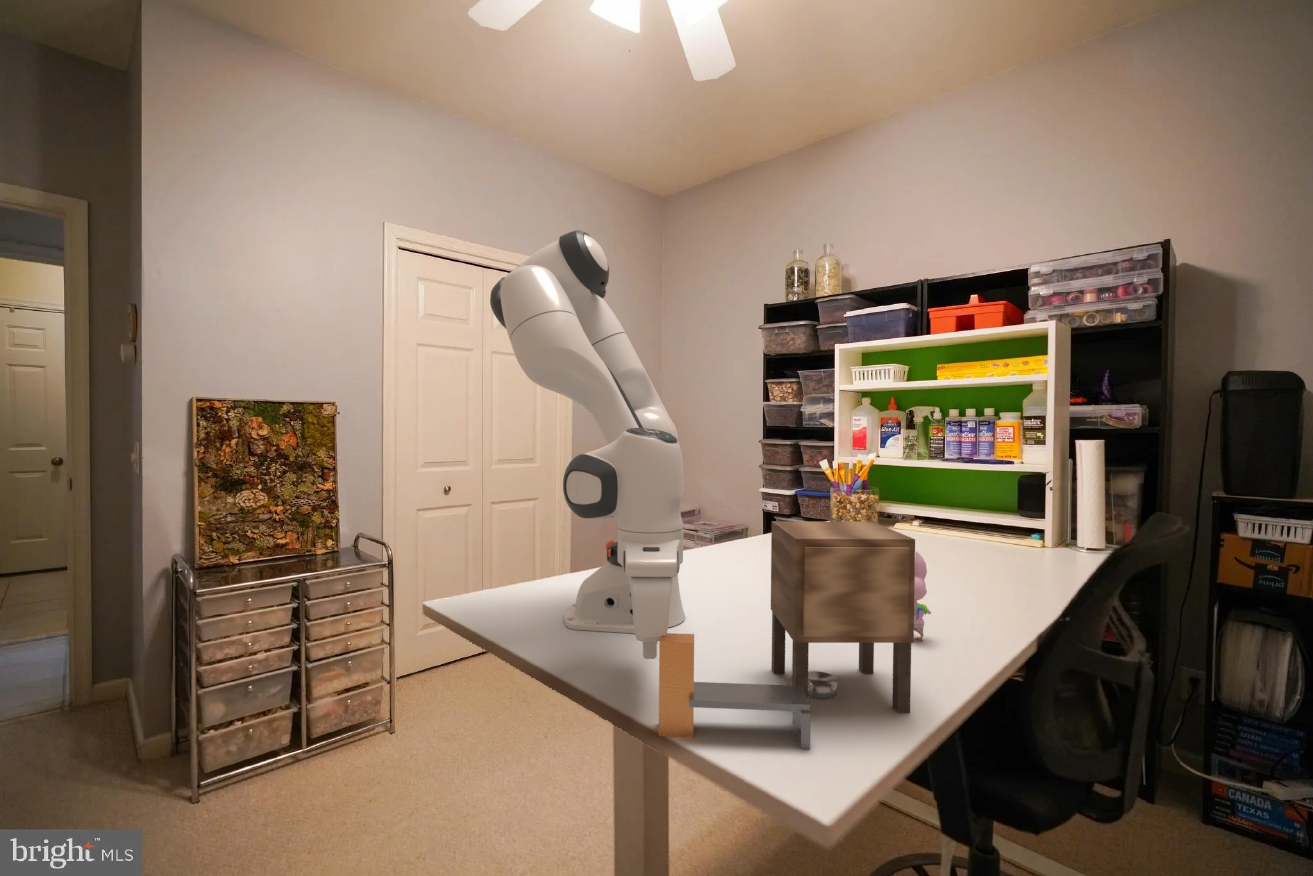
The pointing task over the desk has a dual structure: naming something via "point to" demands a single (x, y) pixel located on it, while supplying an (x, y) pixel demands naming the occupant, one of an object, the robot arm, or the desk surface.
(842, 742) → the desk surface
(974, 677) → the desk surface
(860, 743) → the desk surface
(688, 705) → the tan and grey bench
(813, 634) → the cabinet
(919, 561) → the rabbit figure
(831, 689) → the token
